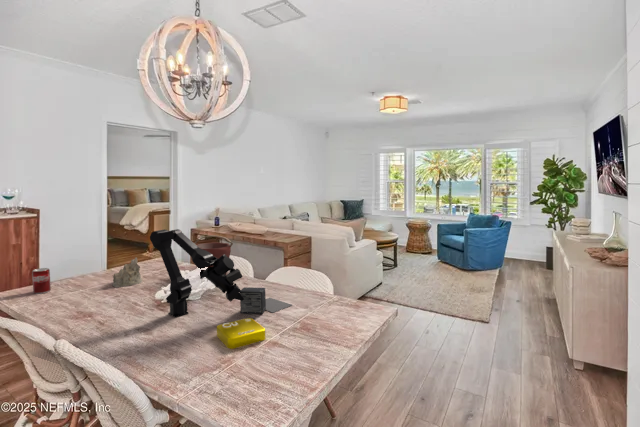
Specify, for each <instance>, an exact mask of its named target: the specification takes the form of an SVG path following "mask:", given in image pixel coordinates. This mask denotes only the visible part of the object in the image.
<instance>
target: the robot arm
mask: <svg viewBox="0 0 640 427" xmlns="http://www.w3.org/2000/svg"><path fill="white" fill-rule="evenodd" d="M149 235H150V236H149V240H150V242H151V244H152V245H153V247H154V248H155V249H156V250H157V251H158V252H159V254H160V256H161V258H162V261H163V264H164V267H165V269H166V272H167V274H168V277H169V279H170V280H169V281H170V286H169V292H170V293H169V294H168V295H167V296H166V298H165V300H166V302H167V304H169V312H168V313H167V314H168V315H170V316H172V317H174V318H178V317H181V316H184V315H189V311H188V301H187V299H189V298H190V295H191V293H192V291H193V290H192V286H193V285H192V284H191V282H190V279H189V278H185V277H183V275H182V273H181V269H180V268H179V267H180V266H179V265H178V262H177V260H176V257H175V254H174V251H173V249H172V243H173V242H174V243H175V244H177V245H178V246H179V247H180V248H181V249H182V250H184V252H185V253H186V254H188V255H189V256H190V258H191V261H192V263H193V264H194V265H195V267H196V268H197V267H198V268H200V269H201V268H205V267H209V268H207V269H206V270H201V272H200V276H199V279H200V280H203V279H207V280H208V281H209V282H210V283H212V284H213V285H214V286H215V287H216V288H218V290H220V291H221V292H222V293H223V294H225V298H226V300H227V301H229V302H232V301H233V300H237V301H240V300H241V301H243V300H244V298H243V297H242V295H241V294H240V291H241V290H242V289H241V288H239V286H238V285H237V283H235V282H236V281H238V280H239V279H242V278H243V275H242V274H243V273H241V271H240V269H239V268H236V269H235V262H234V260H233V259H232V258H231V257H227V256H226V255H222V256H221V257H220V258H219V259H218V258H216V257H214V256H213V255H212V254H211V253H209V252H208V251H206V250H203V249H200V248H199V247H198V246H197V245H198V244H196V245H195V244H194V242H193V241H192V240H191V238H188V236H186V235H185V233H183V232H182V230H181V229H178V228H176V229H172V230H168V229H166V228H165V229H159V230H154V231H152V232H151V233H150V234H149ZM212 265H213V267H210V266H212ZM225 273H226V275H225ZM204 277H206V278H204Z"/></svg>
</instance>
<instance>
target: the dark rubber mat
mask: <svg viewBox="0 0 640 427" xmlns="http://www.w3.org/2000/svg"><path fill="white" fill-rule="evenodd" d="M289 306H290V307H292V306H293V304H291V303H288V302H285V301H282V300H279V299H276V298H274V297H273V298H272V297H267V298H266V310H265V311H266V312H269V313H272V314H274V313H276V311H277V312H280V311H281V309H282V310H284V309H286V308H289Z"/></svg>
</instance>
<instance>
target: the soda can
mask: <svg viewBox="0 0 640 427" xmlns="http://www.w3.org/2000/svg"><path fill="white" fill-rule="evenodd" d="M31 277H32V280H31V281H32V292H33V294H36V295H41V294H45V293H49V292H50V291H51V290H52V289H51V288H52V287H51V272H50V268H48V267H42V268H36V269H33V270H32V271H31Z"/></svg>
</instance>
